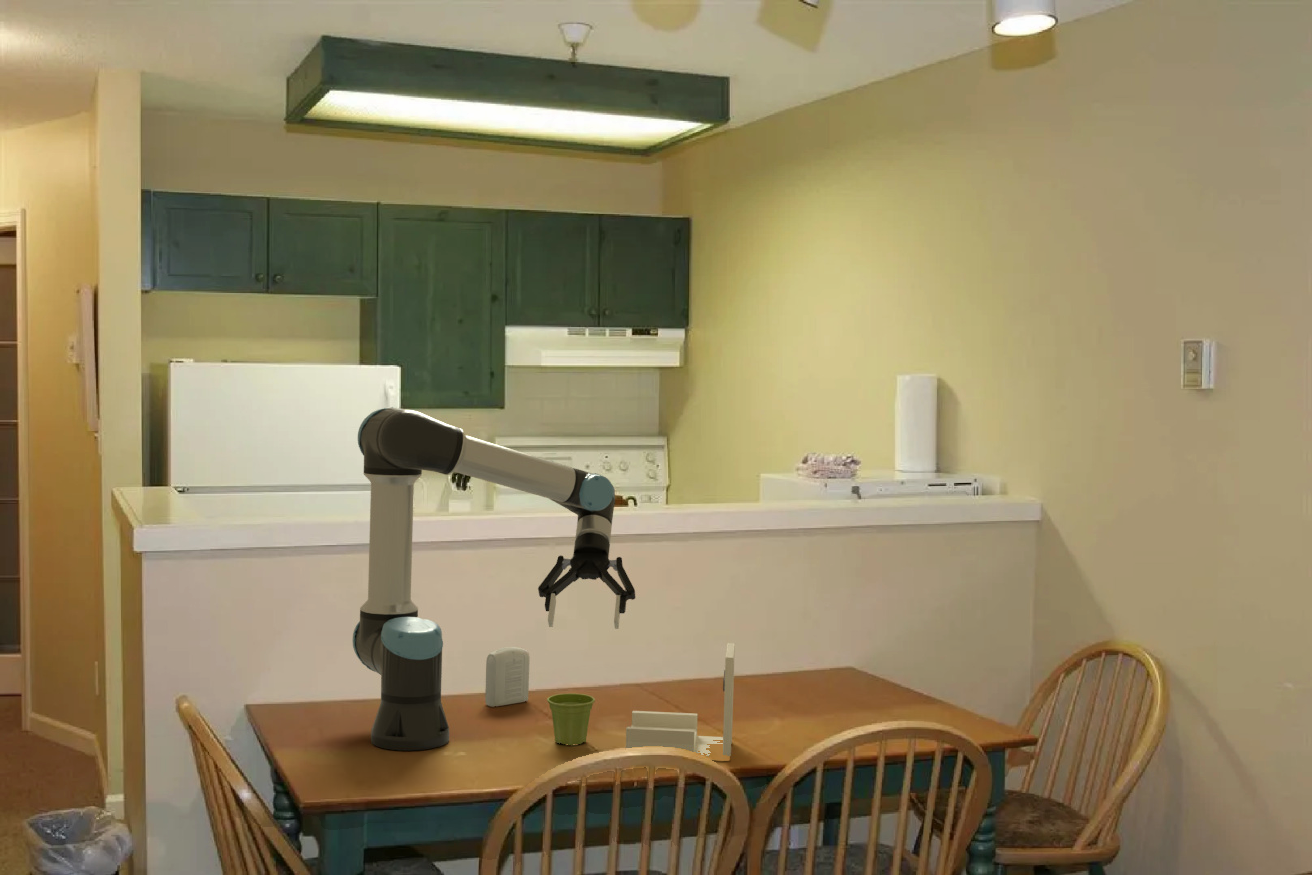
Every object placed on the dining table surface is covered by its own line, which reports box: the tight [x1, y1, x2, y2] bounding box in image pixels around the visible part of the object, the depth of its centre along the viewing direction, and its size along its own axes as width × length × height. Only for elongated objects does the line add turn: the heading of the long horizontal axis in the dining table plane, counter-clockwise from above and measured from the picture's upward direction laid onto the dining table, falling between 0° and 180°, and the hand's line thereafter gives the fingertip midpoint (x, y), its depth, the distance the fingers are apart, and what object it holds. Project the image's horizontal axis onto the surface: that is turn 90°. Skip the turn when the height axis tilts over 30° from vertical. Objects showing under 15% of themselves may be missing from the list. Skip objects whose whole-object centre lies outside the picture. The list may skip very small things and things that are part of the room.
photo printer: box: [484, 646, 530, 708], centre depth 308 cm, size 10×4×12 cm, turn 134°
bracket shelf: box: [625, 642, 736, 757], centre depth 275 cm, size 14×20×20 cm
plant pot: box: [546, 692, 596, 746], centre depth 278 cm, size 9×9×9 cm
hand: (583, 624), depth 288 cm, fingers open, 13 cm apart
